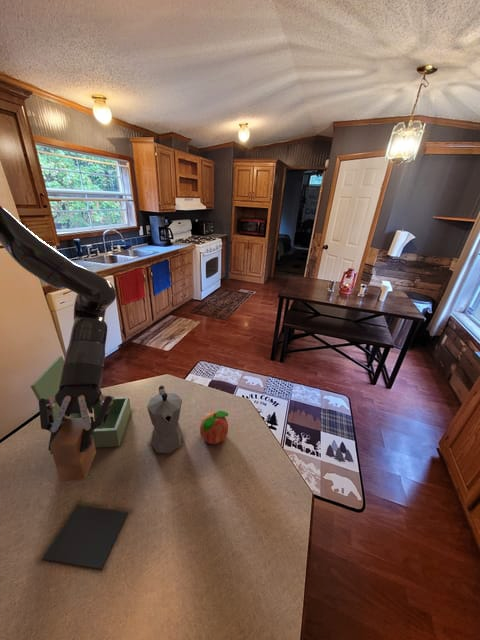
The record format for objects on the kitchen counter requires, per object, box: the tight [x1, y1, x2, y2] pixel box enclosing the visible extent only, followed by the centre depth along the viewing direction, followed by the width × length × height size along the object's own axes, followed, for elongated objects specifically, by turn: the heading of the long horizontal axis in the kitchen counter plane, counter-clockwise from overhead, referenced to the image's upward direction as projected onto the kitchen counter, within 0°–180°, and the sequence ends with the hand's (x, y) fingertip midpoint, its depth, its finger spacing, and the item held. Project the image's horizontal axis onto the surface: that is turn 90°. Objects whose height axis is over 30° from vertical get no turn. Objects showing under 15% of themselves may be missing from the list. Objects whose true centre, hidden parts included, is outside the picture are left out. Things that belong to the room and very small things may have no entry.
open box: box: [70, 396, 132, 448], centre depth 77 cm, size 15×14×7 cm
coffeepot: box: [146, 385, 183, 454], centre depth 73 cm, size 15×9×18 cm, turn 23°
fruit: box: [199, 410, 229, 445], centre depth 77 cm, size 9×10×10 cm
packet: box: [50, 418, 97, 483], centre depth 51 cm, size 4×6×10 cm
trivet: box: [41, 504, 129, 571], centre depth 53 cm, size 12×10×1 cm
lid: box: [30, 355, 65, 421], centre depth 71 cm, size 16×14×1 cm
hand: (69, 452), depth 49 cm, fingers closed on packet, 4 cm apart
